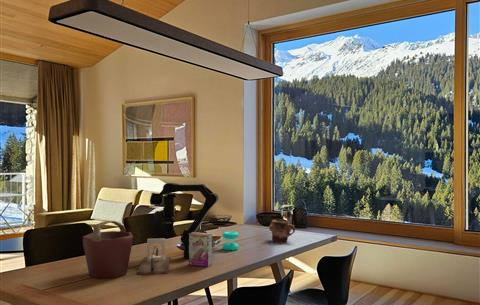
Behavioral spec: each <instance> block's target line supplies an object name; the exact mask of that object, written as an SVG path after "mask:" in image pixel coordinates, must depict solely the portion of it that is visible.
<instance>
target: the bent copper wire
mask: <svg viewBox="0 0 480 305" xmlns="http://www.w3.org/2000/svg"><path fill="white" fill-rule="evenodd" d="M152 250H153V251H152V254H151V256H152V257H151V271H154V256H159V245H155V246H153V249H152Z"/></svg>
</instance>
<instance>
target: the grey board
mask: <svg viewBox="0 0 480 305" xmlns="http://www.w3.org/2000/svg"><path fill="white" fill-rule="evenodd" d="M170 262H171V256H169V255H168V256H167V255H165V261H154V271H151V261H147V256H144V257H143V258H142V261H141V263H140V265H139V267H138V269H137V271H136V273H137V274H136V275H158V274H159V275H160V274H161V275H162V274H165V275H167V274H168V270H169V267H170Z"/></svg>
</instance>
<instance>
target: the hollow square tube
mask: <svg viewBox="0 0 480 305" xmlns="http://www.w3.org/2000/svg"><path fill="white" fill-rule="evenodd" d="M146 241H147V242H146V243H147V244H146V245H147V246H146V248H147V249H146V250H147V255H146V257H147V261H151V257H152V251H151V250H152V245H151V244H161V255H158V256H156V255H155V256H154V261H165V256H166V238H163V237H162V238H161V237H160V238H147V240H146Z"/></svg>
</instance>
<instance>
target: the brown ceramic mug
mask: <svg viewBox="0 0 480 305" xmlns="http://www.w3.org/2000/svg"><path fill="white" fill-rule="evenodd" d="M268 227H269V228H268V229H269V231H270V232H271V241H272V242H274V241H276V242H275V243H285V241H286V242H288V238H289V237H290V236H292V235H293V234H294V233H295V232H296V227H295V225H293V224H291V223H290V221H289V220H287V219H273V220H271V222H270V225H269V226H268Z"/></svg>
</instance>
